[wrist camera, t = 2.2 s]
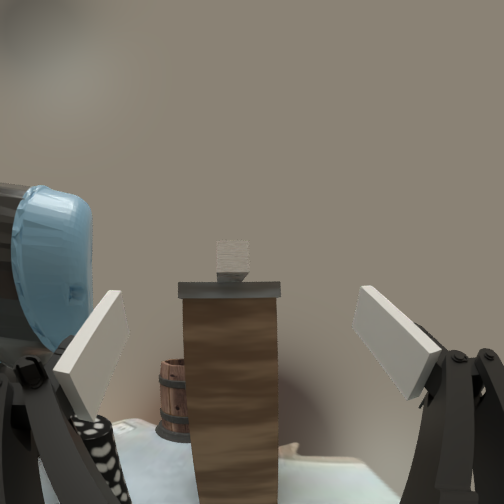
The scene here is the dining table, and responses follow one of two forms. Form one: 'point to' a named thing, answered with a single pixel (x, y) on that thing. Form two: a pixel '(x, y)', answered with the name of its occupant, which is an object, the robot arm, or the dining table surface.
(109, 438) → the white-spotted black cylinder
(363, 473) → the dining table surface
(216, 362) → the column
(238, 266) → the bar
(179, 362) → the tankard
